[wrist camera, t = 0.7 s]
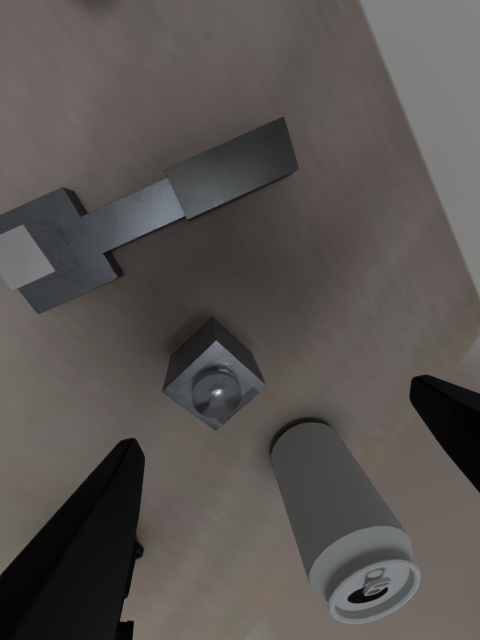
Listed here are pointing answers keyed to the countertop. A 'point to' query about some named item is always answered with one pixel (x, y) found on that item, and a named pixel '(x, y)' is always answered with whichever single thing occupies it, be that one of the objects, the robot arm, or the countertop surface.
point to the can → (342, 527)
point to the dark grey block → (213, 375)
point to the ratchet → (129, 216)
